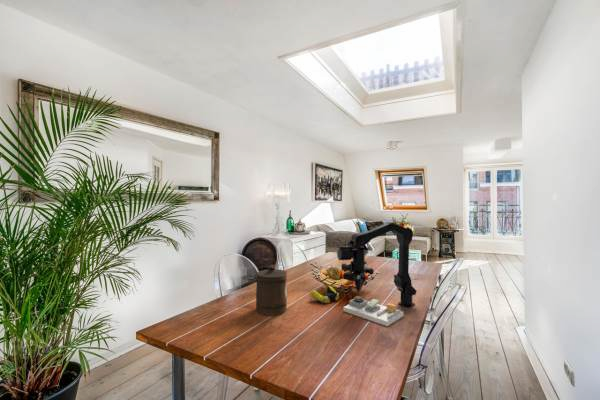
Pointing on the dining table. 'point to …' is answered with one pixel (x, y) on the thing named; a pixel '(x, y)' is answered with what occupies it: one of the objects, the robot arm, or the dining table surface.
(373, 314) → the panel
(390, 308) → the orange rectangular block
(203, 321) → the dining table surface
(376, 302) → the rocker
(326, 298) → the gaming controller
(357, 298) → the push button
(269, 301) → the wooden container
